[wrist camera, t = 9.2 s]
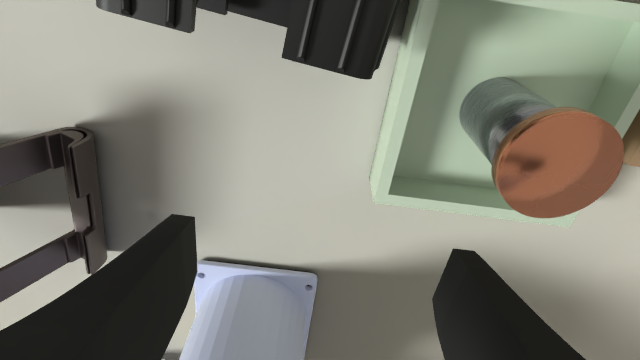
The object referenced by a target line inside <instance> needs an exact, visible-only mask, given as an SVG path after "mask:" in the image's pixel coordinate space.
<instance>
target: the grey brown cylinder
mask: <svg viewBox="0 0 640 360" xmlns="http://www.w3.org/2000/svg"><path fill="white" fill-rule="evenodd" d="M459 118H460V123H461V126H462V128H463V129H464V131H465V132H466V133H467V135H468V136H469V137H470V138H471V140H472V141H473V142H474V143H475V145H476V146H477V147H478V148H479V150H480V151H481V152H482V153H483V155H484V156H485V157H486V158H487V160H488V161H489V162H490V163H491V165H492V167H491V173H492V179H493V183H494V185H495V187H496V188H497V190H498V191H499V193H500V194H501V196H502V197H503V198H504V200H505V201H506V202H507V204H508V205H509V206H510V207H511V208H513V209H514V210H515V211H517V212H519V213H521V214H523V215H526V216H529V217H534V218H556V217H561V216H565V215H568V214H571V213H574V212H576V211H579V210H581V209H583V208H585V207H586V206H588V205H590V204H591V203H593V202H594V201H595V200H597V199H598V198H599V197H600V196H602V195H603V194H604V193H605V192H606V191H607V190H608V188H609V187H610V186H611V185H612V184H613V182H614V181H615V179H616V178H617V176H618V174H619V172H620V169H621V167H622V163H623V160H624V145H623V141H622V138H621V136H620V134H619V133H618V131H617V130H616V129H615V128H614V127H613V126H612V125H611V124H609V123H608V122H606V121H605V120H603V119H601V118H599V117H598V116H596V115H594V114H592V113H591V112H588V111H586V110H584V109H580V108H575V107H556V106H555V105H553V104H551V103H550V102H548V101H547V100H545V99H543V98H542V97H540V96H539V95H537V94H536V93H534V92H532V91H531V90H529V89H528V88H526V87H524V86H523V85H521V84H520V83H518V82H516V81H515V80H513V79H510V78H505V77H496V78H491V79H488V80H485V81H483V82H481V83H479V84H478V85H476V86H475V87H474V88H473V89H471V91H470V92H469V93H468V94H467V95H466V97H465V98H464V100H463V102H462V104H461V108H460V113H459Z"/></svg>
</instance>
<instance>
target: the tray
mask: <svg viewBox="0 0 640 360" xmlns="http://www.w3.org/2000/svg"><path fill="white" fill-rule="evenodd" d="M496 77H505V78H510V79H513V80H515V81H516V82H518V83H520V84H521V85H523V86H524V87H526V88H528V89H529V90H531V91H532V92H534V93H536V94H537V95H539V96H540V97H542V98H543V99H545V100H547V101H548V102H550V103H551V104H553V105H555V106H556V107H575V108H580V109H584V110H586V111H588V112H591V113H592V114H594V115H596V116H598V117H599V118H601V119H603V120H605V121H606V122H608V123H609V124H611V125H612V126H613V127H614V128H615V129H616V130H617V131H618V133H619V134H620V136H621V138H623V136H624V135H625V133H626V131H627V130H628V128H629V126H630V125H631V123H632V121H633V120H634V118H635V116H636V114H637V113H638V111H639V109H640V4H636V3H629V2H622V1H616V0H410V2H409V7H408V11H407V16H406V20H405V24H404V29H403V33H402V37H401V42H400V46H399V50H398V55H397V59H396V64H395V68H394V72H393V77H392V81H391V85H390V90H389V94H388V99H387V103H386V107H385V112H384V116H383V120H382V125H381V129H380V133H379V138H378V142H377V147H376V151H375V155H374V160H373V164H372V168H371V173H370V177H369V179H370V185H371V191H372V197H373V202H374V203H378V204H386V205H394V206H402V207H410V208H418V209H426V210H434V211H442V212H450V213H458V214H466V215H474V216H482V217H490V218H498V219H506V220H514V221H522V222H530V223H538V224H546V225H554V226H562V227H570V226H571V225H572V223H573V221H574V220H575V218H576V216H577V215H578V213H579V211H580V210H579V211H576V212H574V213H571V214H568V215H565V216H561V217H556V218H534V217H529V216H526V215H523V214H521V213H519V212H517V211H515V210H514V209H513V208H511V207H510V206H509V205H508V204H507V202H506V201H505V200H504V198H503V197H502V196H501V194H500V193H499V191H498V190H497V188H496V187H495V185H494V183H493V179H492V173H491V167H492V165H491V163H490V162H489V161H488V160H487V158H486V157H485V156H484V155H483V153H482V152H481V151H480V150H479V148H478V147H477V146H476V145H475V143H474V142H473V141H472V140H471V138H470V137H469V136H468V135H467V133H466V132H465V131H464V129H463V128H462V126H461V123H460V118H459V113H460V108H461V104H462V102H463V100H464V98H465V97H466V95H467V94H468V93H469V92H470V91H471V89H473V88H474V87H475V86H476V85H478V84H479V83H481V82H483V81H485V80H488V79H491V78H496Z"/></svg>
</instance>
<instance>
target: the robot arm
mask: <svg viewBox="0 0 640 360" xmlns="http://www.w3.org/2000/svg"><path fill="white" fill-rule="evenodd" d="M201 273H204V274H201ZM193 284H194V288H195V306H196V317H195V319H194V322H193V324H192V327H191V330H190V332H189V335H188V338H187V340H186V343H185V345H184V348H183V351H182V353H181V356H180V359H179V360H304V356H305V350H306V344H307V339H308V333H309V327H310V322H311V316H312V310H313V305H314V299H315V293H316V288H317V276H316V275H315V274H313V273H308V272H299V271H291V270H282V269H273V268H265V267H256V266H247V265H239V264H230V263H221V262H213V261H204V260H199V261H197V252H196V233H195V217H191V216H183V215H174V214H172V215H171V216H169V217H168V218H166V219H165V220H164V221H163V222H161V223H160V224H159V225H157V226H156V227H155V228H154V229H152V230H151V231H150V232H149V233H147V234H146V235H145V236H144V237H142V238H141V239H140V240H138V241H137V242H136V243H135V244H133V245H132V246H131V247H129V248H128V249H127V250H125V251H124V252H123V253H121V254H120V255H119V256H118V257H116V258H115V259H114V260H112V261H111V262H110V263H108V264H107V265H105V266H104V267H103V268H101V269H100V270H98V271H97V272H96V273H94V274H93V275H91V276H90V277H88V278H87V279H85V280H84V281H82V282H81V283H80V284H78V285H77V286H75V287H74V288H72V289H71V290H69V291H68V292H66V293H65V294H63V295H62V296H60V297H58V298H57V299H55V300H54V301H52V302H50V303H49V304H47V305H45V306H44V307H42V308H40V309H38V310H37V311H35V312H33V313H32V314H30V315H28V316H27V317H25V318H23V319H21V320H20V321H18V322H16V323H14V324H12V325H10V326H9V327H7V328H5V329H3V330H1V331H0V360H161V359H162V357H163V355H164V353H165V351H166V349H167V347H168V344H169V342H170V340H171V338H172V336H173V334H174V332H175V329H176V327H177V325H178V323H179V321H180V319H181V316H182V314H183V312H184V310H185V308H186V305H187V302H188V300H189V297H190V294H191V291H192V288H193ZM307 285H311V286H307ZM432 300H433V307H434V315H435V321H436V327H437V333H438V337H439V341H440V344H441V348H442V351H443V355H444V358H445V360H586V359H584V358H583V357H582V356H581V355H580V354H579V353H578V352H576V351H575V350H574V349H573V348H572V347H571V346H570V345H569V344H568V343H567V342H565V341H564V340H563V339H562V338H561V337H560V336H559V335H558V334H557V333H556V332H555V331H554V330H552V329H551V328H550V327H549V326H548V325H547V324H546V323H545V322H544V321H543V320H542V319H541V318H540V317H539V316H538V315H537V314H536V313H535V312H534V311H533V310H532V309H531V308H530V307H529V306H528V305H527V304H526V303H525V302H524V301H523V300H522V299H521V298H520V297H519V296H518V295H517V294H516V293H515V292H514V291H513V290H512V289H511V288H510V287H509V286H508V285H507V284H506V283H505V282H504V280H503V279H502V278H501V277H500V276H499V275H498V274H497V273H496V272H495V271H494V270H493V269H492V268H491V267H490V266H489V265H488V264H487V263H486V262H485V261H484V260H483V259H482V258H481V257H480V256H479V255H478V254H477V253H476V252H475V251H469V250H461V249H453V250H452V253H451V255H450V257H449V260H448V262H447V265H446V267H445V269H444V272H443V274H442V277H441V279H440V282H439V284H438V286H437V289H436V291H435V294H434V296H433V298H432Z"/></svg>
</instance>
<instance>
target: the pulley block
mask: <svg viewBox="0 0 640 360" xmlns="http://www.w3.org/2000/svg"><path fill="white" fill-rule="evenodd" d="M622 141H623V145H624V160H623V162H624V163H625V164H627V165H632V166H639V167H640V109H639V111H638V113H637V114H636V116H635V118H634V120H633V121H632V123H631V125H630V126H629V128H628V130H627V131H626V133H625V135H624V136H623V138H622Z"/></svg>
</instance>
